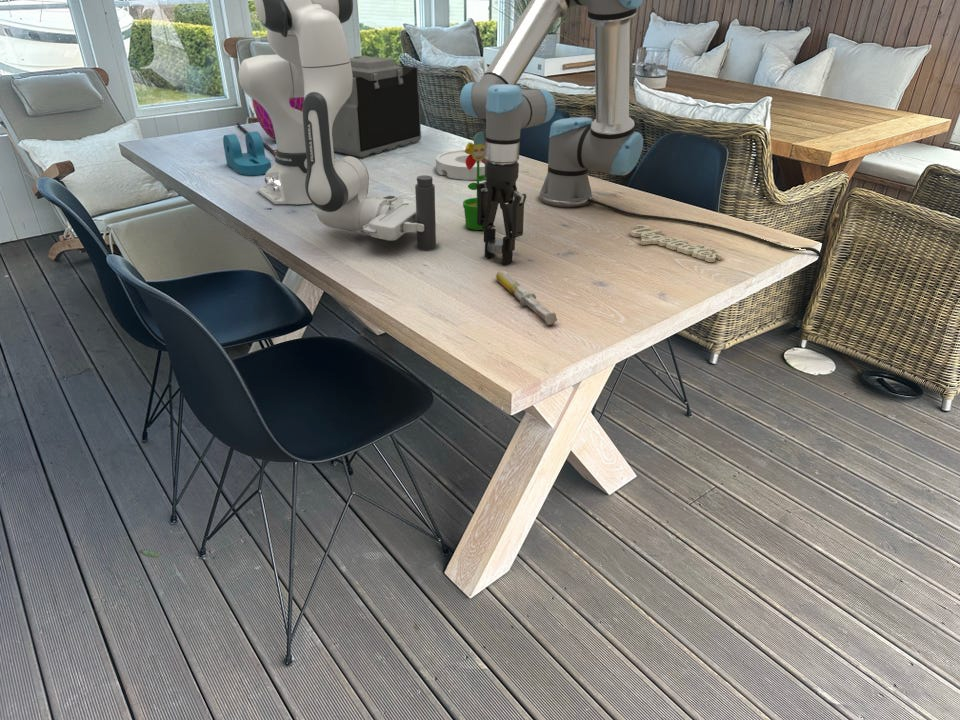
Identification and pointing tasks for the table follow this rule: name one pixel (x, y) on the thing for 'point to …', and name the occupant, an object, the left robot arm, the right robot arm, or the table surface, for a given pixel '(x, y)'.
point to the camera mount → (246, 154)
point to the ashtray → (457, 166)
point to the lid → (495, 245)
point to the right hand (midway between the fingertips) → (498, 259)
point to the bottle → (426, 212)
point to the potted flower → (476, 155)
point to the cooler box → (378, 108)
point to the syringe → (525, 297)
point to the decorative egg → (265, 119)
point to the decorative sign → (674, 243)
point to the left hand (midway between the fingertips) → (429, 223)
